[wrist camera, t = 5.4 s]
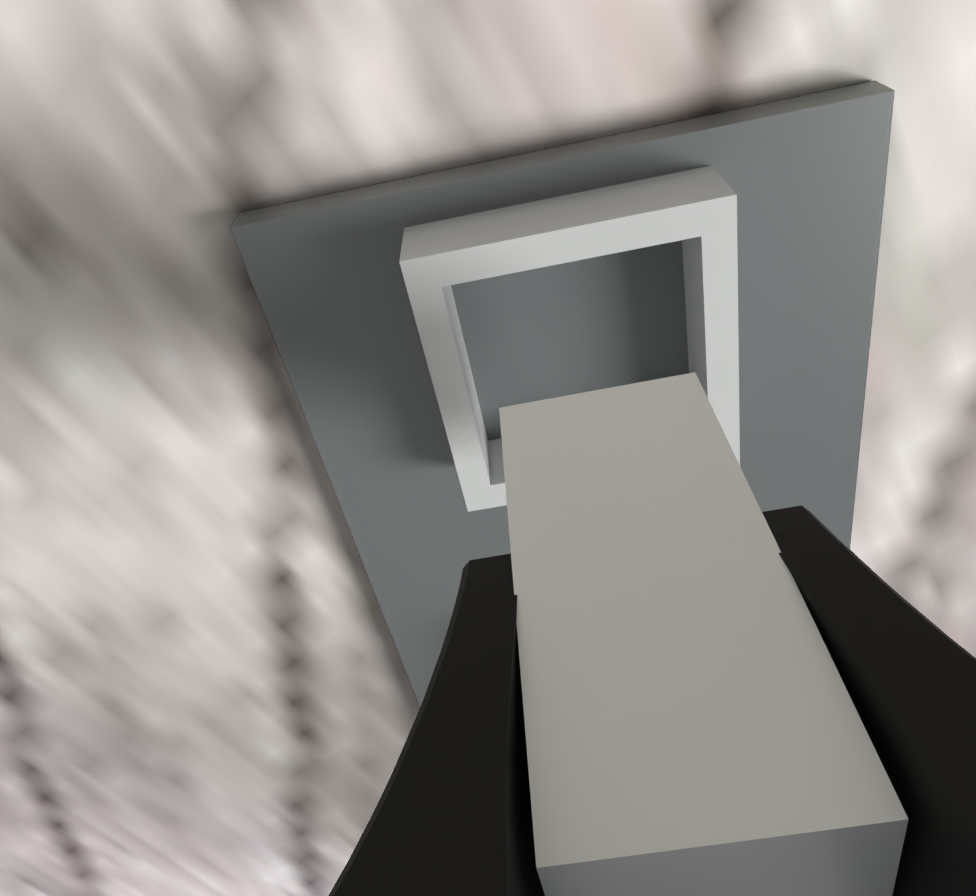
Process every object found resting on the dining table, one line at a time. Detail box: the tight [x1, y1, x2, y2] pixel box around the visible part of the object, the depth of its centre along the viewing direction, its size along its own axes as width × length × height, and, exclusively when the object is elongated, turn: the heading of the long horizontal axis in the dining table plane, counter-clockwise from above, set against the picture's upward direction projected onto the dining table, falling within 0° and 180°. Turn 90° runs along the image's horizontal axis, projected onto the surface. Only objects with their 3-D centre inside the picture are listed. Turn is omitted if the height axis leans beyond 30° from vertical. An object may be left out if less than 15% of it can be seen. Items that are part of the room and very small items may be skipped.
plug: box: [499, 372, 909, 896], centre depth 10 cm, size 3×4×7 cm
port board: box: [230, 81, 895, 707], centre depth 19 cm, size 12×18×2 cm, turn 11°
